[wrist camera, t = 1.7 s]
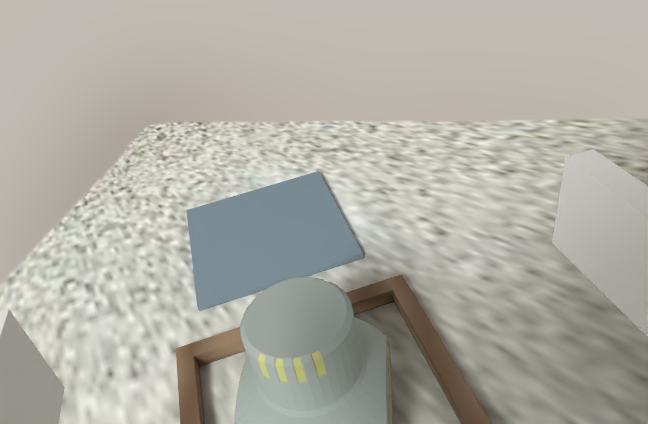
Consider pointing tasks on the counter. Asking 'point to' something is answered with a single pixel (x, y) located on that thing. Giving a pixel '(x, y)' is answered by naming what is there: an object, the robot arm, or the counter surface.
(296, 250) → the rubber mat
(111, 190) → the counter surface
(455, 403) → the wooden frame
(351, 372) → the air freshener
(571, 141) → the counter surface
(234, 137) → the counter surface
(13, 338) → the robot arm
